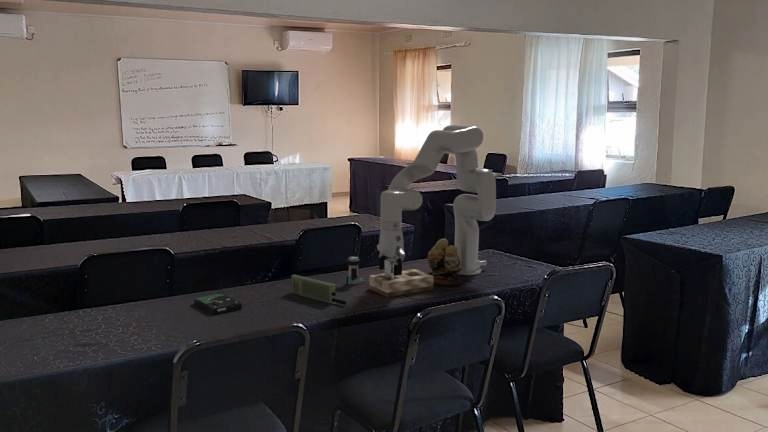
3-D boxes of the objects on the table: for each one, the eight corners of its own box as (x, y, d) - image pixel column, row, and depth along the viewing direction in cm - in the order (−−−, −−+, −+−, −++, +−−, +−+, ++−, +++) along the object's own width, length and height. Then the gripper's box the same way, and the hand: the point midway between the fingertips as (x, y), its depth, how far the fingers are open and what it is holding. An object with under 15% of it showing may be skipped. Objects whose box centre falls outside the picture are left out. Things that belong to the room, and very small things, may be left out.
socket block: (414, 281, 253) (414, 269, 252) (433, 289, 243) (433, 276, 242) (369, 288, 243) (369, 275, 242) (386, 297, 233) (387, 283, 232)
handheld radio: (297, 291, 238) (348, 305, 223) (290, 294, 236) (342, 308, 220) (296, 273, 237) (348, 286, 222) (289, 275, 235) (341, 288, 219)
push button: (359, 280, 254) (359, 255, 252) (366, 284, 249) (366, 258, 248) (343, 282, 250) (344, 256, 249) (350, 286, 246) (350, 259, 244)
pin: (391, 284, 243) (391, 258, 241) (397, 287, 240) (397, 260, 238) (382, 286, 241) (382, 259, 239) (388, 289, 237) (388, 261, 236)
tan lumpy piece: (471, 284, 251) (472, 240, 248) (447, 290, 244) (449, 244, 241) (439, 274, 265) (440, 232, 262) (416, 279, 258) (417, 235, 255)
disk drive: (243, 310, 217) (221, 299, 228) (242, 302, 217) (221, 291, 228) (213, 317, 210) (193, 305, 221) (213, 308, 210) (193, 297, 221)
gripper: (413, 228, 231) (412, 276, 234) (387, 220, 246) (386, 265, 249) (395, 230, 227) (394, 279, 230) (369, 222, 242) (369, 268, 245)
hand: (390, 272), depth 239 cm, fingers open, 9 cm apart
